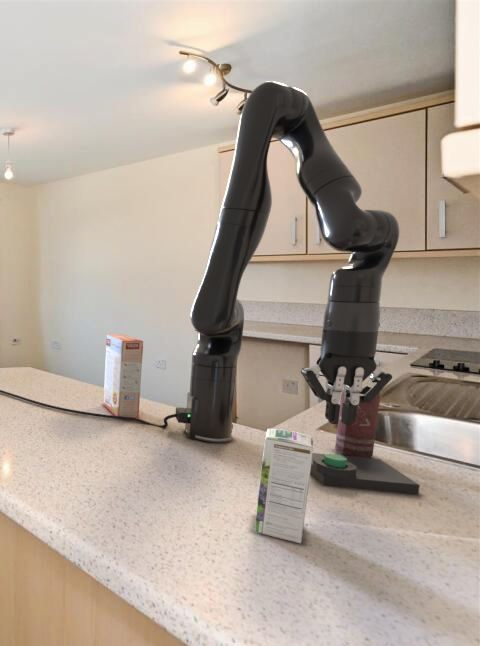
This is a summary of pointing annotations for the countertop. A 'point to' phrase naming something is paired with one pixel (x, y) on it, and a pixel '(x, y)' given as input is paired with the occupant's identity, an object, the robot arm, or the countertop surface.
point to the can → (358, 430)
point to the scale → (362, 475)
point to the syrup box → (284, 484)
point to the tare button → (335, 460)
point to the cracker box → (123, 375)
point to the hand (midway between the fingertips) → (339, 423)
